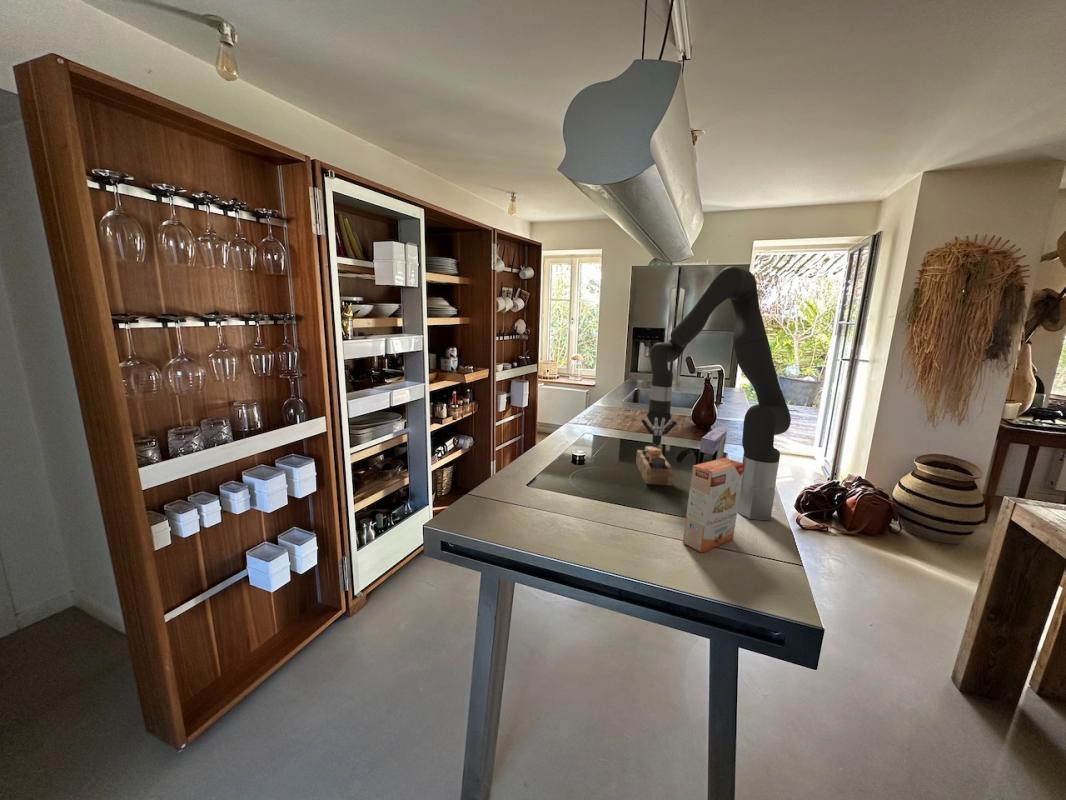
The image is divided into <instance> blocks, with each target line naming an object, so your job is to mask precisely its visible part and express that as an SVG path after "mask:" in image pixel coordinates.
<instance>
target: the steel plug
mask: <svg viewBox="0 0 1066 800" xmlns="http://www.w3.org/2000/svg"><path fill="white" fill-rule="evenodd" d="M649 448H657V447H656V446H654V445H653V446H652V445H647V446H645V447H644V450H645V452H646V456H650V454H649V453H648V451H649Z"/></svg>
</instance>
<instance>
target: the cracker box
mask: <svg viewBox="0 0 1066 800" xmlns="http://www.w3.org/2000/svg"><path fill="white" fill-rule="evenodd" d="M744 466H745V464H743V463H742V462H740V461H736V460H733V459H731V458H730V459H729V458H727V457H723V458H722V459H718V460H714V461H710V462H706V463H701V464H698V463H697V464H694V465H692V469H691V475H690V476H691V477H690V484H689V485H690V486H689V494H688V500H687V507H686V515H685V522H684V523H685V524H684V530H683V531H684V532H683V539H682V543H683V544H684V545H686V546H688V547H689V548H691V549H694V550H695V551H697V552H699V553H701V554H702V553H704V552H707V551H709V550H711V549H713V548H716V547H719V546H720V545H722V544H725V543H727V542H730V541H732V540H733V539H734V537H735V535H734V534H735V528H736V522H737V516H738V512H737V510H738V504H739V497H740V491H741V485H742V478H743V472H744Z"/></svg>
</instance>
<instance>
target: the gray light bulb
mask: <svg viewBox="0 0 1066 800" xmlns="http://www.w3.org/2000/svg"><path fill="white" fill-rule="evenodd" d="M665 459H666V458H665ZM665 459H663V458H659V457H653V458H652V463H653V468H659V469H663V465H665Z"/></svg>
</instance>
